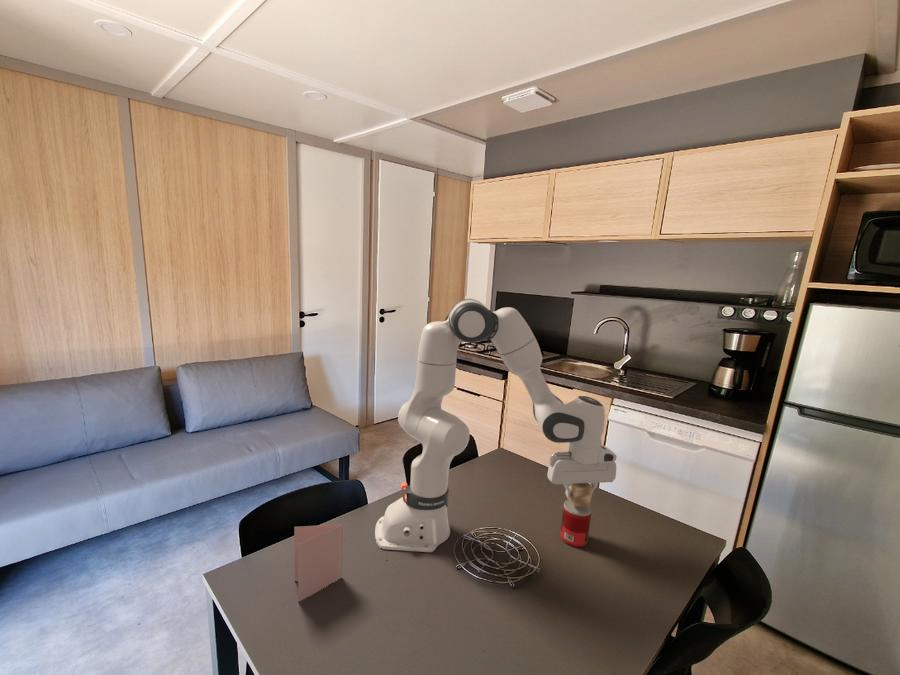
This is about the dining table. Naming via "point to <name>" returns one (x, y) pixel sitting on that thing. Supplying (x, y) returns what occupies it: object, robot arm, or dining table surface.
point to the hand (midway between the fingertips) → (578, 495)
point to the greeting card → (317, 557)
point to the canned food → (575, 524)
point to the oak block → (580, 494)
